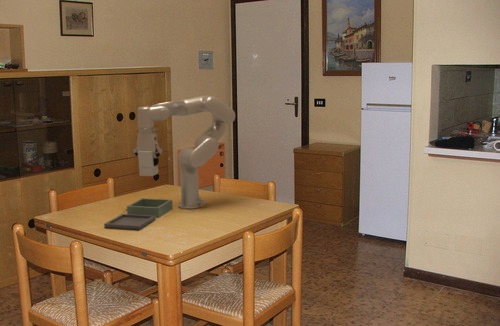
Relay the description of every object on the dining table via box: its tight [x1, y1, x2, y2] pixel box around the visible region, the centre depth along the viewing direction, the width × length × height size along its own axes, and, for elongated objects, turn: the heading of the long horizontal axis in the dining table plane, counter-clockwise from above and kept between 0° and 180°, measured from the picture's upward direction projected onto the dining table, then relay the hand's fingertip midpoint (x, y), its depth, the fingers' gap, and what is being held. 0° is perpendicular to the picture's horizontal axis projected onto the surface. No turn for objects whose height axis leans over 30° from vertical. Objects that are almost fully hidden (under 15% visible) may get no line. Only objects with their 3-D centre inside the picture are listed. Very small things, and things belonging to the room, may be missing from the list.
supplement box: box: [137, 150, 159, 177], centre depth 293 cm, size 7×7×13 cm
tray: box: [103, 213, 157, 232], centre depth 277 cm, size 18×18×2 cm
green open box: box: [126, 197, 174, 219], centre depth 297 cm, size 17×17×5 cm
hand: (148, 165), depth 293 cm, fingers closed on supplement box, 7 cm apart
